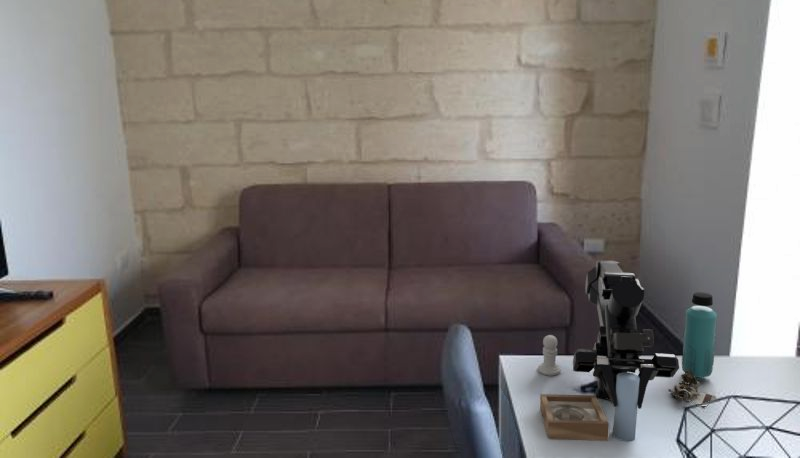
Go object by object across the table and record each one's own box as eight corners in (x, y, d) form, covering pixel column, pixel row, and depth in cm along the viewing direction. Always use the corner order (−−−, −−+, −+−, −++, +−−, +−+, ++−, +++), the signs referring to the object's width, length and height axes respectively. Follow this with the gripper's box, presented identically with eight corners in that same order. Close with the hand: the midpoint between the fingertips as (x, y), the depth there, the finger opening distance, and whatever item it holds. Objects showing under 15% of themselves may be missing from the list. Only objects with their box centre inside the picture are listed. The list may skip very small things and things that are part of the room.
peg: (613, 428, 117) (616, 371, 115) (634, 431, 116) (639, 373, 114) (612, 438, 114) (616, 380, 111) (635, 442, 112) (639, 383, 110)
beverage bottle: (717, 383, 134) (726, 298, 130) (687, 384, 135) (695, 298, 130) (703, 370, 141) (711, 289, 137) (674, 371, 141) (681, 289, 137)
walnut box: (540, 409, 125) (540, 394, 124) (594, 410, 124) (595, 395, 123) (548, 438, 114) (549, 422, 113) (607, 440, 113) (608, 423, 112)
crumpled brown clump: (666, 410, 122) (652, 369, 131) (664, 429, 126) (651, 388, 135) (729, 406, 120) (711, 365, 129) (726, 426, 124) (708, 384, 133)
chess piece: (558, 378, 139) (559, 341, 137) (535, 373, 141) (536, 337, 139) (562, 368, 143) (564, 333, 141) (540, 364, 145) (541, 329, 144)
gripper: (577, 309, 115) (580, 389, 107) (680, 314, 112) (692, 397, 104) (571, 332, 125) (574, 408, 116) (667, 338, 121) (677, 415, 113)
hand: (627, 407), depth 112 cm, fingers closed on peg, 4 cm apart
